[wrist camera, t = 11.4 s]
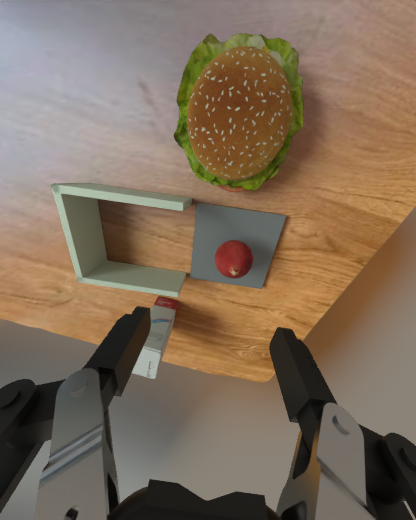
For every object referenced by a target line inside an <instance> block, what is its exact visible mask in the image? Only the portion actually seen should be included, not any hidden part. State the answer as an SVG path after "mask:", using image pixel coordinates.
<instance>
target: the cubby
mask: <svg viewBox="0 0 416 520" xmlns="http://www.w3.org/2000/svg"><path fill="white" fill-rule="evenodd" d="M51 187H52V190H53V194H54V198H55V201H56V205H57V208H58V212H59V216H60V219H61V223H62V226H63V230H64V234H65V237H66V241H67V244H68V248H69V252H70V255H71V259H72V262H73V266H74V270H75V273H76V277H77V280H78V282H82V283H88V284H95V285H101V286H108V287H114V288H121V289H127V290H133V291H140V292H146V293H153V294H159V295H166V296H172V297H178V296H179V294H180V291H181V288H182V286H183V283H184V281H185V278H186V272H180V271H174V270H167V269H160V268H154V267H147V266H141V265H134V264H128V263H121V262H114V261H108V260H107V254H106V248H105V242H104V236H103V230H102V224H101V218H100V212H99V206H98V200H97V199H103V200H110V201H117V202H124V203H131V204H138V205H144V206H151V207H158V208H165V209H172V210H179V211H184V210H185V209H186V208H188V207H189V206H190V205H192V198H188V197H181V196H174V195H167V194H161V193H154V192H147V191H140V190H133V189H126V188H119V187H112V186H105V185H98V184H91V183H60V184H51Z"/></svg>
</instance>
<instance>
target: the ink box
mask: <svg viewBox="0 0 416 520" xmlns="http://www.w3.org/2000/svg"><path fill="white" fill-rule="evenodd" d="M177 307H178V301H175V300H171V299H168V298H163V297H158V298H157V300H156V302H155V303H154V305H153V307H152V309H151V311H150V315H151V328H150V332H149V335H148V337H147V340H146V342H145V344H144V346H143V349H142V351H141V353H140V355H139V357H138V360H137V362H136V364H135V366H134V368H133V371H132V373H134V374H138V375H141V376H145V377H148V378H151V379H155V378H156V375H157V372H158V369H159V366H160V363H161V360H162V357H163V354H164V351H165V348H166V345H167V342H168V340H169V337H170V334H171V331H172V328H173V324H174V319H175V315H176V311H177Z"/></svg>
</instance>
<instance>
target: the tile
mask: <svg viewBox="0 0 416 520" xmlns="http://www.w3.org/2000/svg"><path fill="white" fill-rule="evenodd" d="M285 218H286V215H283V214H276V213H269V212H262V211H255V210H248V209H241V208H234V207H228V206H221V205H214V204H207V203H200V202H198V203H197V210H196V220H195V231H194V242H193V253H192V264H191V274H190V278H193V279H200V280H207V281H213V282H220V283H226V284H233V285H239V286H246V287H252V288H259V289H262V286H263V283H264V280H265V278H266V275H267V272H268V269H269V266H270V263H271V260H272V257H273V254H274V251H275V248H276V245H277V242H278V239H279V236H280V233H281V230H282V227H283V224H284V221H285ZM230 240H238V241H240V242H243V243H245V244H246V245H247V246H248V247H249V248H250V249H251V251H252V254H253V264H252V268H251V269H250V270H249V272H248V273H247V274H246V275H244V276H243V277H241V278H236V279H233V278H228V277H226V276H223V275H222V274H221V273H220V272H219V271H218V269H217V267H216V264H215V253H216V251H217V249H218V247H219V246H220V245H221V244H223V243H224V242H227V241H230Z"/></svg>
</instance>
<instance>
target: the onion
mask: <svg viewBox="0 0 416 520" xmlns="http://www.w3.org/2000/svg"><path fill="white" fill-rule="evenodd" d="M215 264H216V267H217V269H218V271H219V272H220V273H221V274H222V275H223V276H226V277H228V278H233V279H236V278H241V277H243V276H244V275H246V274H247V273H248V272H249V270H250V269H251V268H252V264H253V254H252V251H251V249H250V248H249V247H248V246H247V245H246V244H245V243H243V242H240V241H238V240H230V241H227V242H224V243H223V244H221V245H220V246H219V247H218V249H217V251H216V253H215Z"/></svg>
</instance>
